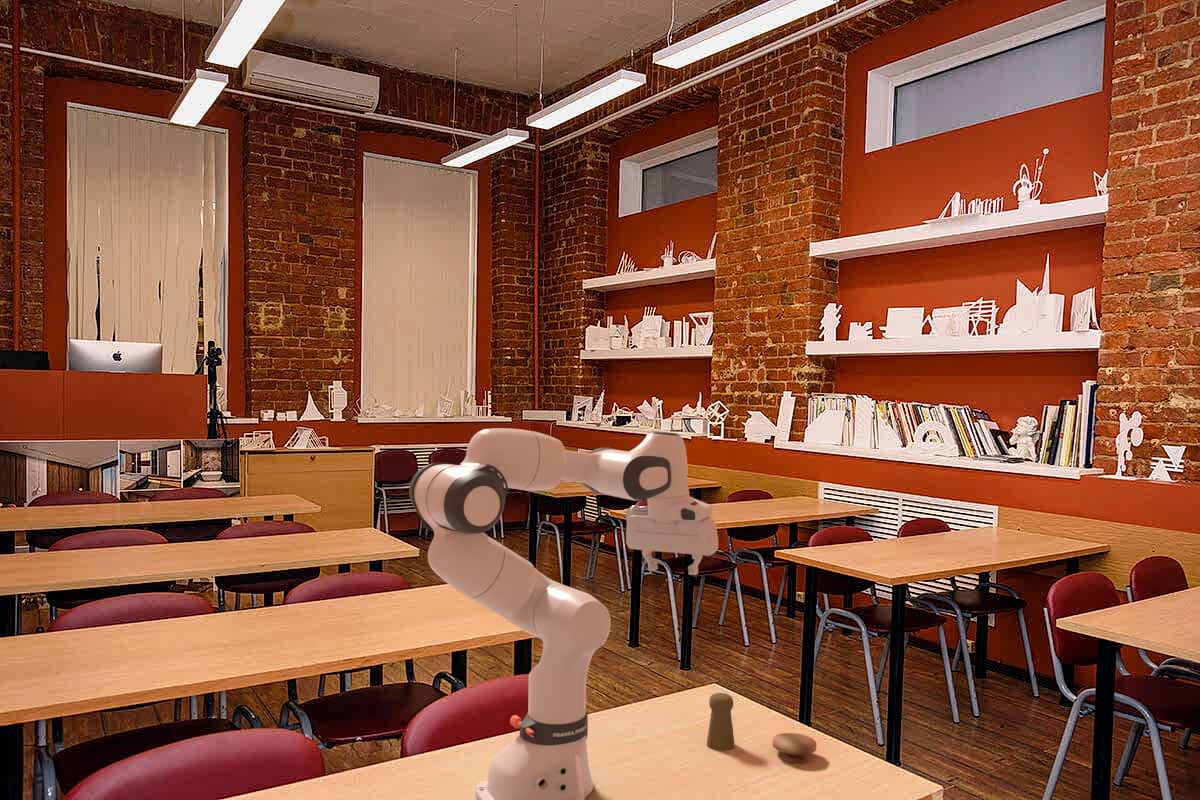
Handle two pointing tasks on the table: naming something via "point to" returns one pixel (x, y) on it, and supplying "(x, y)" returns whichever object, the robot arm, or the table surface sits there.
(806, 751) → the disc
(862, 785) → the table surface
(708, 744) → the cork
